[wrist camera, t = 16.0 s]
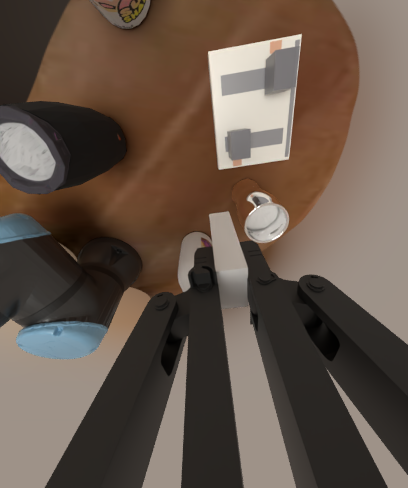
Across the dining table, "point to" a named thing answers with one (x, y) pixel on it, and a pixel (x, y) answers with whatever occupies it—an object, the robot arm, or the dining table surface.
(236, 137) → the tab
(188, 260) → the milk bottle
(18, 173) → the portable speaker
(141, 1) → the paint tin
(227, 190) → the dining table surface
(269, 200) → the beer glass
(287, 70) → the tab
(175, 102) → the dining table surface
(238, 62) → the switch panel
